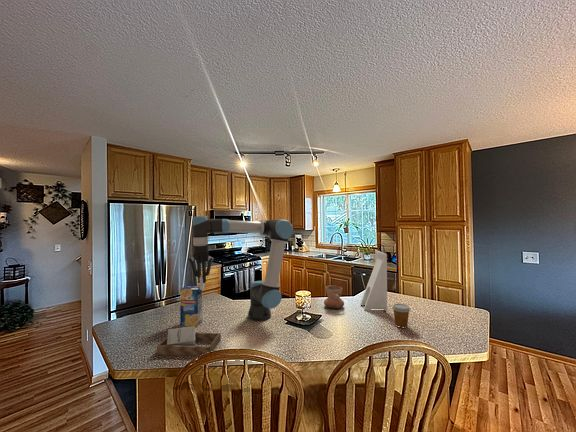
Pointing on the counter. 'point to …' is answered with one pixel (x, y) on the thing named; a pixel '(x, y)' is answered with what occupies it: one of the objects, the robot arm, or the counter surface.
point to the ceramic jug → (334, 297)
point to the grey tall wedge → (377, 285)
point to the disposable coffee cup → (401, 314)
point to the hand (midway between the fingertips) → (202, 288)
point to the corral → (190, 350)
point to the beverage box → (190, 306)
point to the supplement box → (181, 336)
